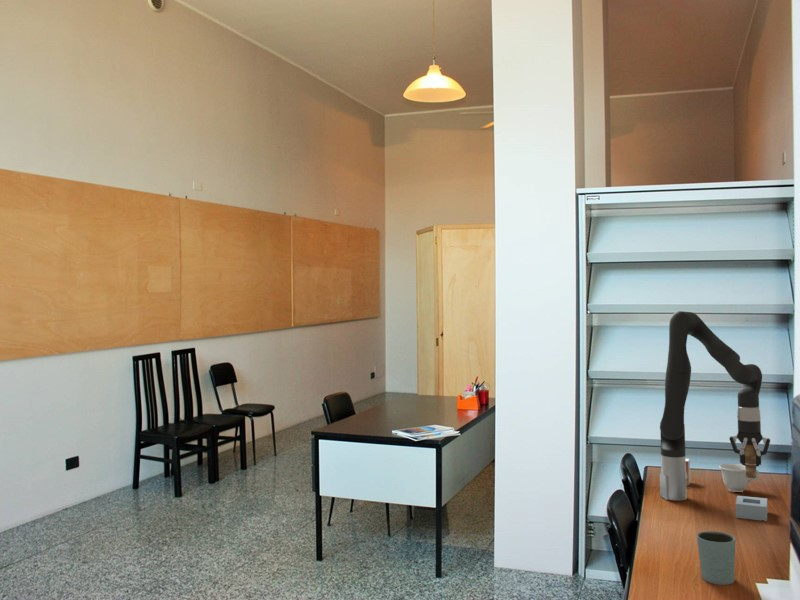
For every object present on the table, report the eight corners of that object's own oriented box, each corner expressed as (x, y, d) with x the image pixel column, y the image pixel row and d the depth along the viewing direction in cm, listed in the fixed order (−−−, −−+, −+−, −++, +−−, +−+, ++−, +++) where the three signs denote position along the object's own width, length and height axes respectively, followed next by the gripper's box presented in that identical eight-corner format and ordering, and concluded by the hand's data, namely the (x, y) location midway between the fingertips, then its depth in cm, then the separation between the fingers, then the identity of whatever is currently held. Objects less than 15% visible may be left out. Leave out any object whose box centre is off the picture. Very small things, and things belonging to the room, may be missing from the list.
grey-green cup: (724, 588, 190) (723, 544, 190) (690, 577, 198) (689, 535, 199) (743, 579, 196) (742, 536, 196) (710, 569, 204) (708, 528, 205)
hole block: (766, 521, 247) (766, 506, 247) (735, 517, 252) (735, 503, 252) (767, 511, 258) (767, 498, 258) (737, 508, 262) (737, 495, 262)
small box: (669, 483, 301) (668, 459, 301) (670, 480, 306) (670, 457, 306) (689, 485, 297) (688, 461, 297) (690, 482, 302) (689, 458, 302)
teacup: (758, 497, 277) (758, 472, 277) (718, 492, 285) (717, 468, 285) (761, 490, 287) (760, 465, 287) (721, 486, 295) (721, 462, 295)
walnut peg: (748, 478, 253) (747, 445, 253) (742, 475, 257) (741, 443, 257) (760, 478, 253) (758, 445, 253) (753, 475, 257) (752, 442, 257)
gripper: (770, 418, 255) (772, 464, 255) (728, 416, 262) (729, 461, 262) (771, 421, 249) (772, 469, 248) (727, 419, 255) (728, 466, 255)
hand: (750, 465), depth 255 cm, fingers closed on walnut peg, 4 cm apart
